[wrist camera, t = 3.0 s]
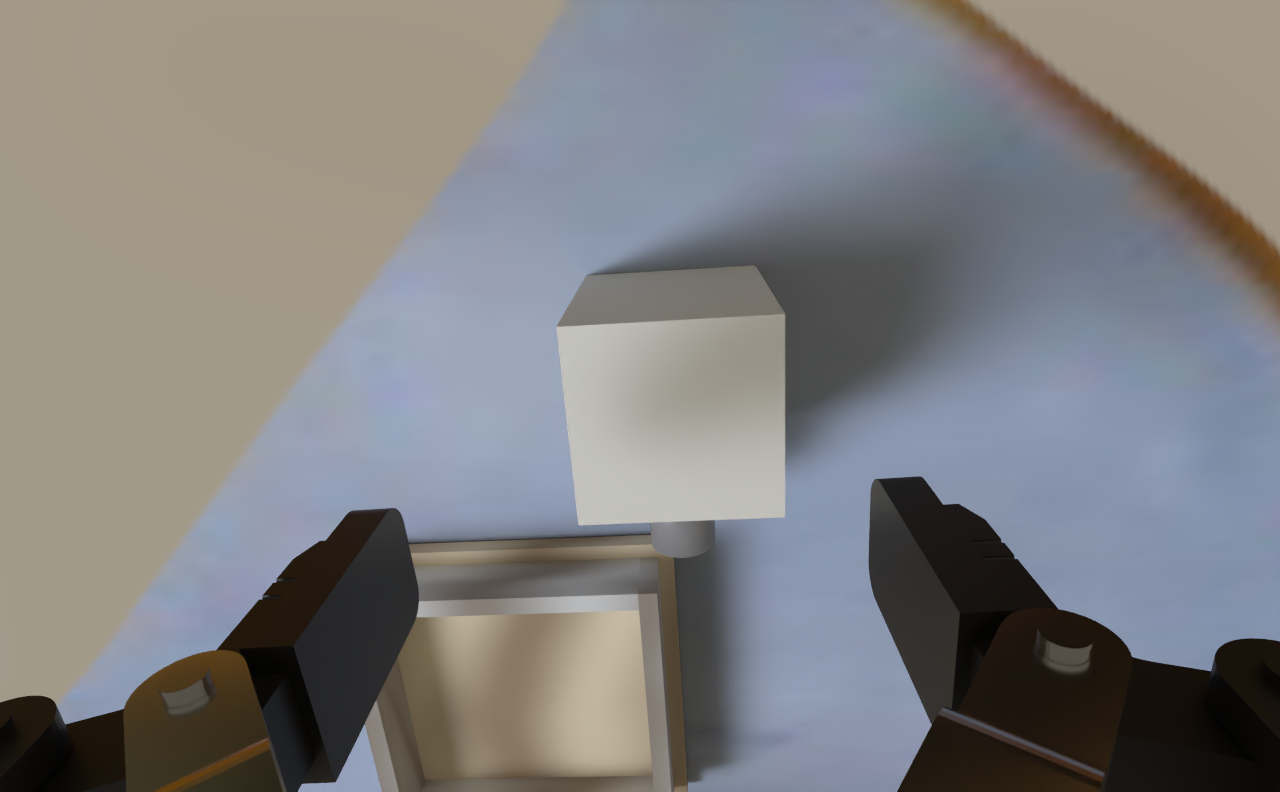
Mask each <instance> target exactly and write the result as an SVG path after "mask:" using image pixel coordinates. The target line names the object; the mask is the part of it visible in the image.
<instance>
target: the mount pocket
mask: <svg viewBox="0 0 1280 792" xmlns="http://www.w3.org/2000/svg"><path fill="white" fill-rule="evenodd" d="M409 548H410V552H411V556H412V561H413V565H414V569H415V574H416V578H417V583H418V589H419V606H418V613H417V617H416V620H415V623H414V625H413V627H412V629H411V631H410V633H409V635H408V637H407V639H406V641H405V643H404V645H403V647H402V649H401V651H400V653H399V655H398V657H397V659H396V661H395V663H394V665H393V667H392V669H391V671H390V673H389V675H388V677H387V679H386V681H385V683H384V685H383V688H382V690H381V692H380V694H379V696H378V698H377V700H376V702H375V704H374V706H373V708H372V710H371V712H370V714H369V716H368V718H367V720H366V722H365V726H366V730H367V734H368V738H369V742H370V746H371V750H372V754H373V758H374V762H375V765H376V769H377V773H378V777H379V781H380V785H381V789H382V792H688V782H687V765H686V749H685V732H684V716H683V699H682V683H681V666H680V650H679V633H678V617H677V600H676V584H675V567H674V557H669V556H666V555H663V554H661V553H659V552H657V551H656V550H655V549H654V548H653V546H652V541H651V535H634V536H608V537H582V538H556V539H530V540H503V541H477V542H451V543H425V544H409Z"/></svg>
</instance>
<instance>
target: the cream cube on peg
mask: <svg viewBox="0 0 1280 792" xmlns="http://www.w3.org/2000/svg"><path fill="white" fill-rule="evenodd" d="M556 328H557V337H558V346H559V355H560V364H561V373H562V382H563V391H564V400H565V409H566V418H567V427H568V436H569V445H570V454H571V463H572V472H573V481H574V490H575V499H576V508H577V517H578V525H602V524H628V523H650V528H651V541H652V546H653V548H654V549H655V550H656V551H657V552H659V553H661V554H663V555H666V556H669V557H674V558H689V557H695V556H698V555H701V554H704V553H705V552H707V551H709V550H710V549H711V548H712V547H713V546H714V544H715V520H730V519H755V518H781V517H785V313H784V311H783V310H782V308H781V306H780V305H779V303H778V301H777V300H776V298H775V296H774V295H773V293H772V292H771V290H770V288H769V287H768V285H767V283H766V282H765V280H764V279H763V277H762V275H761V274H760V272H759V270H758V269H757V267H756V266H755V265H751V266H734V267H718V268H701V269H685V270H669V271H652V272H636V273H619V274H603V275H586V277H585V278H584V280H583V282H582V284H581V285H580V287H579V289H578V290H577V292H576V294H575V296H574V297H573V299H572V301H571V303H570V304H569V306H568V308H567V309H566V311H565V313H564V315H563V316H562V318H561V320H560V322H559V323H558V325H557V327H556Z"/></svg>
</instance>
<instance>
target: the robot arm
mask: <svg viewBox="0 0 1280 792" xmlns="http://www.w3.org/2000/svg"><path fill="white" fill-rule="evenodd" d="M869 574H870V581H871V586H872V590H873V594H874V597H875V600H876V602H877V604H878V606H879V609H880V611H881V613H882V615H883V617H884V620H885V622H886V624H887V626H888V629H889V631H890V633H891V635H892V637H893V640H894V642H895V644H896V646H897V649H898V651H899V653H900V655H901V657H902V660H903V662H904V664H905V666H906V669H907V671H908V673H909V675H910V677H911V680H912V682H913V684H914V686H915V689H916V691H917V693H918V695H919V697H920V700H921V702H922V704H923V706H924V709H925V711H926V713H927V715H928V717H929V720H930V722H931V724H932V726H931V728H930V730H929V731H928V733H927V735H926V737H925V739H924V741H923V743H922V745H921V747H920V749H919V751H918V753H917V754H916V756H915V758H914V760H913V762H912V764H911V766H910V768H909V770H908V772H907V774H906V775H905V777H904V779H903V781H902V783H901V785H900V787H899V789H898V791H897V792H1280V642H1279V641H1274V640H1267V639H1252V638H1250V639H1239V640H1234V641H1230V642H1228V643H1225V644H1223V645H1222V646H1221V647H1220V648H1219V649H1218V650H1217V652H1216V654H1215V658H1214V662H1213V666H1212V670H1211V671H1206V670H1199V669H1193V668H1187V667H1181V666H1175V665H1168V664H1162V663H1156V662H1151V661H1146V660H1141V659H1137V658H1133V657H1132V656H1131V653H1130V651H1129V649H1128V647H1127V646H1126V644H1125V643H1124V642H1123V641H1122V640H1121V639H1120V638H1119V637H1118V636H1117V635H1116V634H1115V633H1114V632H1112V631H1111V630H1109V629H1108V628H1107V627H1105V626H1103V625H1101V624H1100V623H1098V622H1096V621H1094V620H1092V619H1089V618H1087V617H1085V616H1082V615H1079V614H1076V613H1073V612H1069V611H1065V610H1059V609H1058V608H1057V607H1056V606H1055V604H1054V603H1053V602H1052V601H1051V600H1050V598H1049V597H1048V596H1047V595H1046V593H1045V592H1044V591H1043V590H1042V589H1041V587H1040V586H1039V585H1038V584H1037V582H1036V581H1035V580H1034V579H1033V578H1032V576H1031V575H1030V574H1029V573H1028V571H1027V570H1026V569H1025V568H1024V567H1023V565H1022V564H1021V563H1020V562H1019V560H1018V559H1014V554H1013V553H1012V552H1011V551H1010V549H1009V548H1008V547H1007V546H1006V545H1005V543H1001V538H1000V537H999V536H998V535H997V534H996V532H995V531H994V530H993V529H992V527H991V526H990V525H989V524H988V523H987V521H986V520H985V519H983V518H981V517H980V516H978V515H976V514H975V513H973V512H971V511H970V510H968V509H966V508H964V507H963V506H961V505H959V504H949V505H943V504H942V503H941V501H940V500H939V499H938V497H937V496H936V494H935V493H934V492H933V490H932V489H931V488H930V486H929V485H928V484H927V482H926V481H925V480H924V479H923V478H922V477H903V478H887V479H875V480H874V481H873V483H872V487H871V500H870V533H869ZM418 606H419V589H418V583H417V578H416V574H415V569H414V565H413V561H412V556H411V552H410V548H409V543H408V539H407V534H406V530H405V526H404V522H403V518H402V516H401V514H400V512H399V511H398V510H397V509H395V508H388V509H372V510H356V511H351V512H349V513H348V514H347V515H346V516H345V517H344V519H343V520H342V521H341V522H340V524H339V525H338V526H337V527H336V529H335V530H334V531H333V532H332V534H331V535H330V536H329V537H328V538H327V540H326V541H319V542H318V543H316V544H315V545H313V546H312V547H310V548H309V549H308V550H306V551H305V552H303V553H302V554H300V555H299V556H297V557H296V558H294V559H293V560H292V561H291V563H290V564H289V565H288V566H287V567H286V568H285V570H284V571H283V572H282V573H281V574H280V576H279V577H278V578H277V582H276V583H273V584H272V585H271V586H270V587H269V589H268V590H267V591H266V592H265V593H264V594H263V599H262V600H258V602H257V603H256V604H255V605H254V606H253V607H252V609H251V610H250V611H249V612H248V613H247V615H246V616H245V617H244V618H243V619H242V620H241V622H240V623H239V624H238V625H237V626H236V628H235V629H234V630H233V631H232V632H231V633H230V635H229V636H228V637H227V638H226V639H225V641H224V642H223V643H222V644H221V645H220V646H219V648H218V649H217V650H215V651H208V652H202V653H199V654H195V655H192V656H189V657H186V658H183V659H181V660H179V661H176V662H174V663H172V664H170V665H168V666H166V667H164V668H163V669H161V670H159V671H158V672H156V673H155V674H153V675H152V676H150V677H149V678H148V679H147V680H145V681H144V682H143V683H142V684H141V685H140V686H139V687H137V689H136V690H135V691H134V692H133V693H132V694H131V696H130V697H129V699H128V700H127V702H126V704H125V707H124V709H122V710H119V711H115V712H111V713H107V714H104V715H100V716H96V717H92V718H89V719H85V720H81V721H77V722H73V723H70V724H66V725H65V723H64V721H63V719H62V717H61V715H60V712H59V710H58V708H57V706H56V704H55V702H54V701H53V700H52V699H50V698H48V697H44V696H26V697H19V698H15V699H11V700H7V701H4V702H1V703H0V792H298V790H299V788H300V786H301V784H305V783H329V782H336V780H337V778H338V776H339V774H340V772H341V770H342V768H343V766H344V764H345V762H346V760H347V758H348V756H349V754H350V752H351V750H352V748H353V746H354V744H355V742H356V740H357V738H358V736H359V734H360V732H361V730H362V728H363V726H364V724H365V722H366V720H367V718H368V716H369V714H370V712H371V710H372V708H373V706H374V704H375V702H376V700H377V698H378V696H379V694H380V692H381V690H382V688H383V685H384V683H385V681H386V679H387V677H388V675H389V673H390V671H391V669H392V667H393V665H394V663H395V661H396V659H397V657H398V655H399V653H400V651H401V649H402V647H403V645H404V643H405V641H406V639H407V637H408V635H409V633H410V631H411V629H412V627H413V625H414V623H415V620H416V617H417V613H418Z"/></svg>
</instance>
